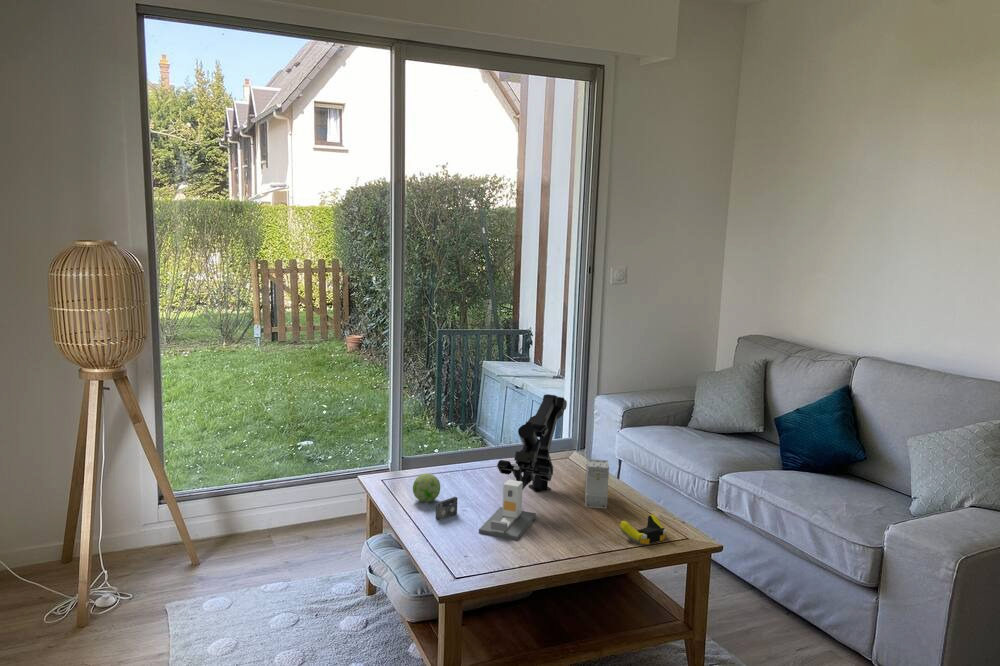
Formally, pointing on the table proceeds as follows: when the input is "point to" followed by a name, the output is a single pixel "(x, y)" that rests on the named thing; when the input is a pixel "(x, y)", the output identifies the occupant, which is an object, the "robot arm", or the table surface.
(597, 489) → the circuit breaker
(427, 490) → the decorative ball
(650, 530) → the gaming controller
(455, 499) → the mini dv tape
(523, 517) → the din rail plate
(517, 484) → the block
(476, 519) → the table surface
